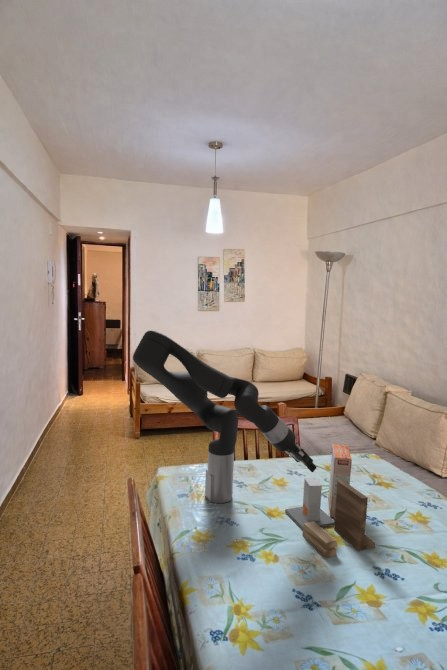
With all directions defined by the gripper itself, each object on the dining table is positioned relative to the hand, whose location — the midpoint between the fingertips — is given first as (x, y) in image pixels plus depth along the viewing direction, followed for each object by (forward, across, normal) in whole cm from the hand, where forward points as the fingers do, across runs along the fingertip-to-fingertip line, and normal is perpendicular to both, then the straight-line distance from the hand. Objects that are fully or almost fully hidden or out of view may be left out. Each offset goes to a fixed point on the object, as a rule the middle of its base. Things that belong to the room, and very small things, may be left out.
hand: (306, 464), depth 140 cm
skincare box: (+14, -1, +11) cm, 18 cm away
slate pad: (+14, 0, +11) cm, 18 cm away
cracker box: (+24, +2, +2) cm, 24 cm away
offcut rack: (+15, -15, +11) cm, 24 cm away
